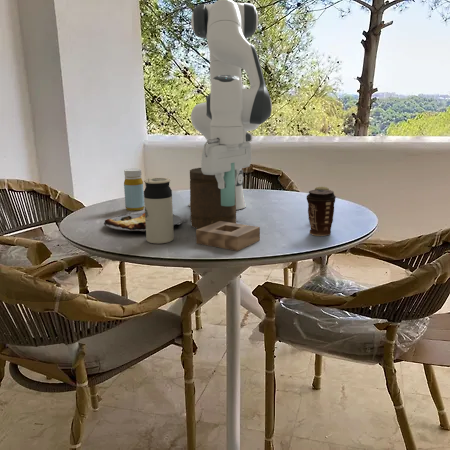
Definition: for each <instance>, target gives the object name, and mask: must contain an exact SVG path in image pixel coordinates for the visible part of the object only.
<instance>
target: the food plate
mask: <svg viewBox="0 0 450 450" xmlns="http://www.w3.org/2000/svg"><path fill="white" fill-rule="evenodd" d="M182 222H183V220H182V217H180V216H179V215H177V214H175V213H173V226H175V225H181V224H182ZM103 225H104V227H107V228H110V229H112V230H115V231H117V230H118V231H124V232H125V231H126V232H129V233H131V232H139V233H140V232H146V222H145V211H144V212H135V213H134V212H133V213H132V212H129V213H124V214H120V215H117V216H114V217H110V218H106V219H105V220H104V223H103Z"/></svg>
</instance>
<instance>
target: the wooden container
mask: <svg viewBox="0 0 450 450" xmlns="http://www.w3.org/2000/svg"><path fill="white" fill-rule="evenodd" d="M189 199H190V200H189V203H190V206H189V207H190V209H189V210H190V226H191V227H192V228H193V229H195V230H197V229H200V228H202V227H205V226H208V225H210V224H213V223H216V222H218V221H223V222H230V223H236V224H237V210H236V194H235V205H234V206H221V189H219V188H218V182H217V180H216V177H215V175H205V174H203V173H202V171H201V167H196V168H191V169H190V170H189Z"/></svg>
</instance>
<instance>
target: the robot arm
mask: <svg viewBox="0 0 450 450" xmlns="http://www.w3.org/2000/svg"><path fill="white" fill-rule="evenodd" d="M190 23H191V27H192V30H193V32H194V35H195V36H196V37H197V38H201V39H207V41H206V42H207V47H208V50H209V76H210V77H209V78H210V79H209V82H210V84H211V86H210V93H209V94H208V95H207V96H206V97H205V102H201V103H196V105H194V106H193V107H192V111H191V112H190V113H191V114H190V120H191V121H190V122H191V125H192V126H193V128H194V129H195V130H196V131H197V132H198V133H200V134H201V135H202V136H203V137H204V139H205V140H206V142H205V144H204V145H203V148H202V151H201V160H200V161H201V162H200V163H201V165H200V168H201V171H202V173H203V174H205V175H215V177H216V180H217V182H218V188H219V189H224V188H226V182H224V178H223V176H224V172H228V171H230V170H231V163H234V162H235V194H236V211H237V210H242V209H244V208H246V207H247V205H246V201H245V197H244V190H243V189H244V188H243V183H244V170H243V169H245V168H250V166H251V163H252V154H253V153H252V152H253V150H252V149H253V148H252V144H251V143H252V142H253V134H252V133H250V132H251V131H255V130H257V129H258V128H259V126H260V125H262V124H263V123H265V122H267V120H268V119H269V118H270V117H271V116H272V109H273V103H272V102H273V101H272V99H271V96H270V92H269V91H268V87H267V84H266V81H265V78H264V72H263V70H262V65H261V62H260V58H259V55H258V51H257V49H256V47H255V45H254V44H252V43H251V42H249V41H248V40H247V39H249V38H251V37H252V36H253V35H255V33H256V31H257V28H258V25H259V14H258V11H257V8H256V6H255V5H254V4H253V3H250V2H235V1H233V0H216V1H215V2H214V3H208V4H205V3H203V4H202V3H201V4H198V5H196V6H195V7H194V9H193V10H192V14H191V17H190ZM242 70H243V71H245V72H246V74H247V77H248V81H249V85H250V88H245V87H244V84H243V78H242V77H243V76H242ZM188 207H190V202H189V203H188Z"/></svg>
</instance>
